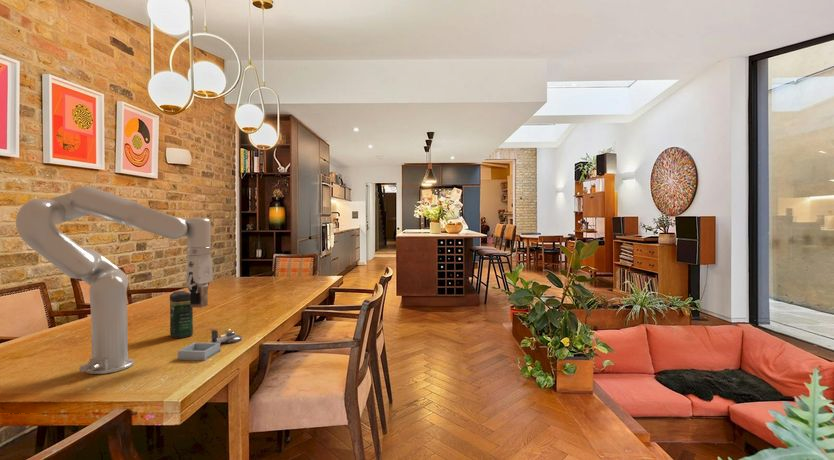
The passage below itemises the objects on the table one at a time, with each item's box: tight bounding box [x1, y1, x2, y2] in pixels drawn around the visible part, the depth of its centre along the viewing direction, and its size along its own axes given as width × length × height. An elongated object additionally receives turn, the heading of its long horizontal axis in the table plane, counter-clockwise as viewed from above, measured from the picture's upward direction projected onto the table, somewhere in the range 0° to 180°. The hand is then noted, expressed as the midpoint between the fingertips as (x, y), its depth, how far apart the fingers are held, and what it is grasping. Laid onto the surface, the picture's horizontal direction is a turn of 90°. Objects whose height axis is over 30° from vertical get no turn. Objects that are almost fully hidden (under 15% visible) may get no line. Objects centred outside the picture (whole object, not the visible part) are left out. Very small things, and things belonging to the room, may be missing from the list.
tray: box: [177, 342, 221, 361], centre depth 149 cm, size 10×10×3 cm
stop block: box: [191, 283, 209, 309], centre depth 149 cm, size 4×4×8 cm
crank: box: [209, 327, 236, 344], centre depth 162 cm, size 12×4×6 cm, turn 166°
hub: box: [221, 334, 242, 344], centre depth 167 cm, size 8×8×1 cm
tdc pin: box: [224, 328, 232, 335], centre depth 172 cm, size 2×2×3 cm
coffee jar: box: [169, 290, 194, 339], centre depth 173 cm, size 10×8×19 cm
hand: (198, 302), depth 149 cm, fingers closed on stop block, 4 cm apart
